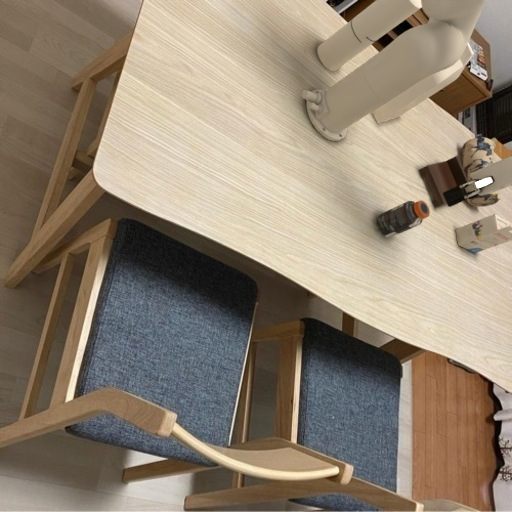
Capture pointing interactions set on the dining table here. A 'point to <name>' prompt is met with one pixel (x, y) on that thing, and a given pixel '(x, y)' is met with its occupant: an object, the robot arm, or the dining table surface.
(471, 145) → the pencil case
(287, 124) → the dining table surface
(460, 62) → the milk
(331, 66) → the cylindrical container
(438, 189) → the shelf
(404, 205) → the pill bottle
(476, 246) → the ink box
